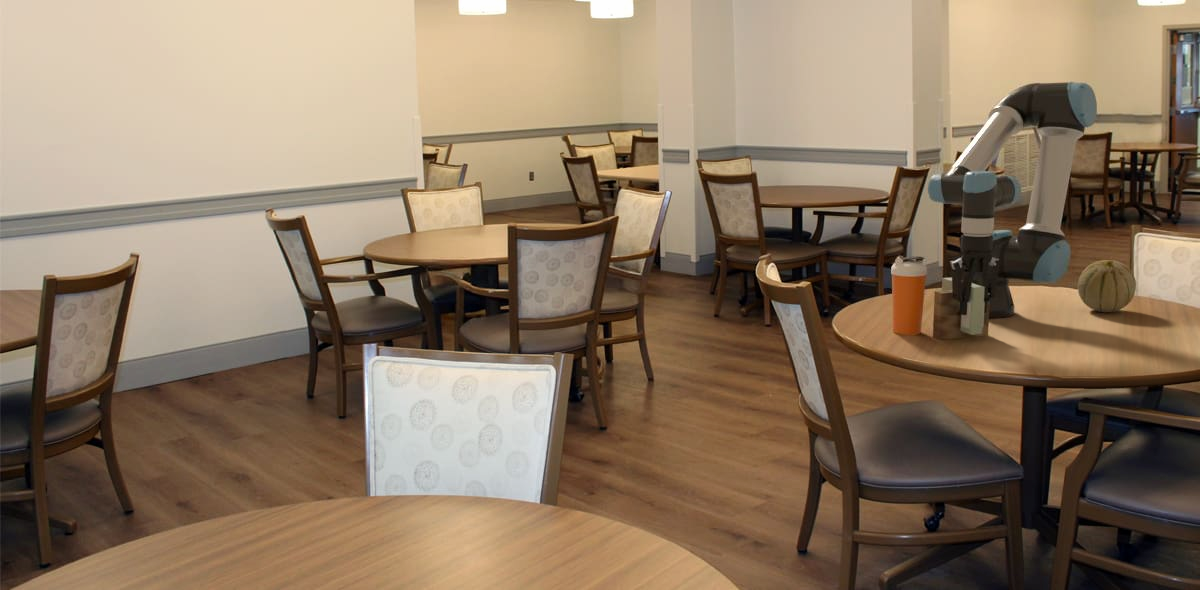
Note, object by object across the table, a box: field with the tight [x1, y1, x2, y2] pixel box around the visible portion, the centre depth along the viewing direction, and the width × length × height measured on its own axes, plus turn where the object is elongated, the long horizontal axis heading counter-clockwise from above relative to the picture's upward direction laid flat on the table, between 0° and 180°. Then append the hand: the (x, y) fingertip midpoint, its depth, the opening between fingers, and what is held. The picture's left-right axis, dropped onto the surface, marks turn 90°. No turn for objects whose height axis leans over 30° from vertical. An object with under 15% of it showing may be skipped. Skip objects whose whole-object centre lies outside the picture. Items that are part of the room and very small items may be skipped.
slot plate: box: [941, 276, 985, 335], centre depth 258 cm, size 14×3×12 cm, turn 13°
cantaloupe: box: [1077, 259, 1137, 313], centre depth 281 cm, size 15×15×15 cm
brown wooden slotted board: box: [932, 290, 990, 341], centre depth 258 cm, size 14×3×12 cm, turn 103°
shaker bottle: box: [890, 255, 928, 336], centre depth 263 cm, size 9×9×20 cm
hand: (972, 326), depth 254 cm, fingers closed on slot plate, 3 cm apart
